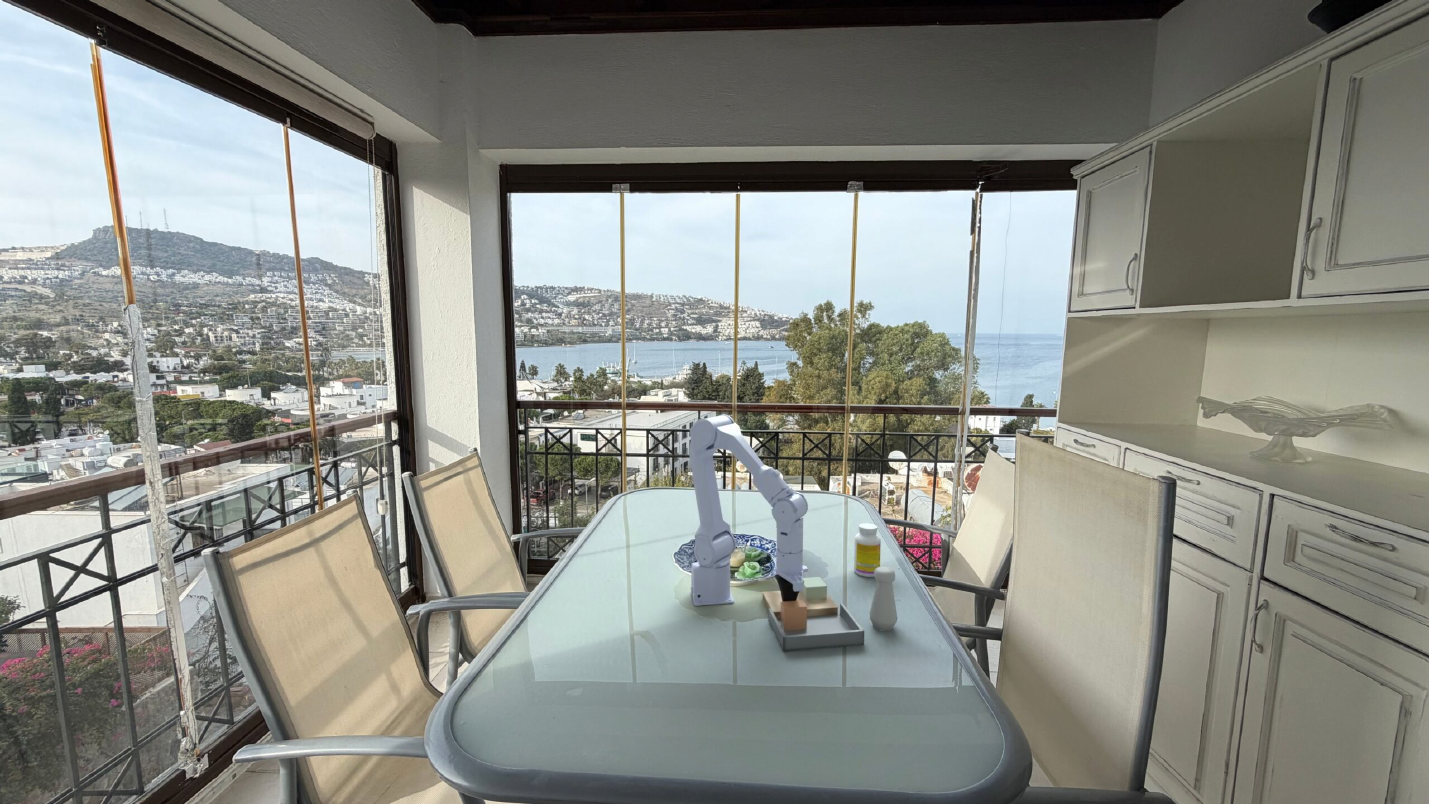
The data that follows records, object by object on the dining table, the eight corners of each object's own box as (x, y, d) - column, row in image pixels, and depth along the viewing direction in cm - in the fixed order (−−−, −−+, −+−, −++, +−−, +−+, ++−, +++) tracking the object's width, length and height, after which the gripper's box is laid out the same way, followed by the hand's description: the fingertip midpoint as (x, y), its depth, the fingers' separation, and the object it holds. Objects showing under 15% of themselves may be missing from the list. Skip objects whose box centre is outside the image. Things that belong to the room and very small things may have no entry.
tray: (783, 651, 111) (783, 637, 111) (768, 621, 123) (768, 608, 122) (864, 644, 113) (864, 630, 113) (842, 616, 125) (842, 603, 125)
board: (772, 620, 123) (772, 612, 123) (762, 599, 133) (762, 591, 133) (837, 615, 125) (837, 607, 125) (822, 595, 135) (822, 587, 135)
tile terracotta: (780, 623, 121) (784, 630, 118) (780, 601, 120) (784, 608, 117) (802, 621, 122) (806, 629, 119) (802, 600, 121) (807, 606, 118)
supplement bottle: (882, 578, 145) (884, 530, 143) (857, 578, 145) (858, 530, 143) (875, 567, 151) (877, 522, 150) (851, 567, 152) (852, 521, 150)
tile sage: (806, 599, 129) (806, 587, 128) (799, 590, 134) (799, 578, 133) (826, 598, 129) (826, 586, 129) (819, 588, 134) (819, 576, 134)
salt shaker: (898, 634, 117) (900, 575, 116) (870, 632, 118) (871, 573, 117) (895, 621, 123) (897, 564, 121) (868, 618, 124) (869, 562, 122)
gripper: (818, 560, 115) (816, 623, 116) (797, 536, 129) (796, 592, 131) (784, 562, 114) (784, 625, 115) (768, 537, 128) (767, 594, 130)
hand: (788, 608), depth 123 cm, fingers closed
